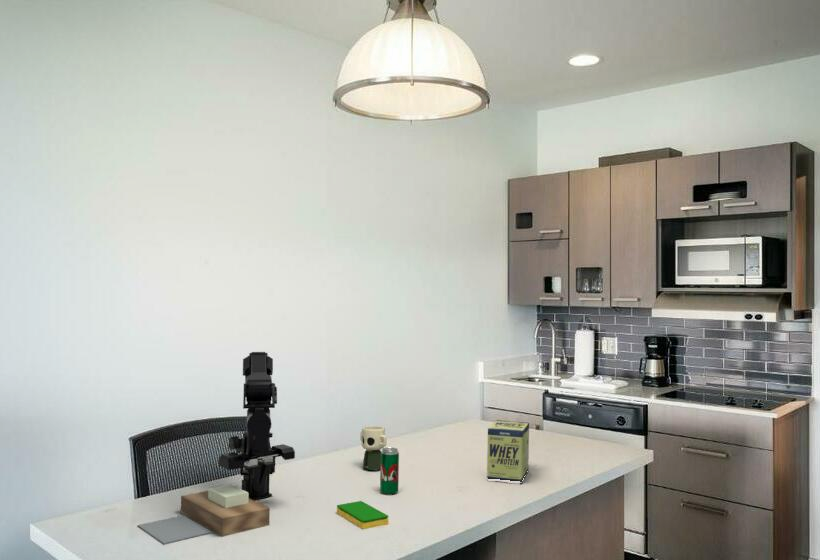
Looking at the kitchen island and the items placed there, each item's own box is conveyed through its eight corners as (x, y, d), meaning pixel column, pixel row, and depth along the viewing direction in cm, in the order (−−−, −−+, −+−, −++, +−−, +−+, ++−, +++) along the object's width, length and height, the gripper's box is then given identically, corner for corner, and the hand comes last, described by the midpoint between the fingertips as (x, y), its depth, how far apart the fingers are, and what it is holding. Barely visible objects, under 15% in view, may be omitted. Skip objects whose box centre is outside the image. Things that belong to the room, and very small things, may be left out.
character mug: (352, 468, 217) (353, 426, 217) (368, 464, 222) (368, 423, 223) (377, 474, 210) (378, 431, 210) (393, 470, 215) (394, 428, 215)
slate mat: (183, 516, 169) (183, 515, 169) (211, 533, 158) (211, 531, 158) (137, 526, 162) (137, 524, 162) (164, 544, 151) (164, 543, 151)
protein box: (486, 481, 205) (487, 428, 205) (495, 468, 220) (496, 419, 220) (521, 485, 202) (522, 431, 202) (529, 471, 216) (529, 421, 217)
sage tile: (230, 494, 174) (230, 484, 174) (248, 503, 168) (248, 492, 168) (208, 499, 170) (208, 488, 170) (225, 507, 164) (225, 497, 164)
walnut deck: (225, 502, 180) (225, 487, 181) (269, 524, 164) (269, 507, 164) (180, 512, 172) (181, 495, 172) (222, 536, 156) (222, 518, 156)
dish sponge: (361, 509, 178) (361, 500, 178) (388, 525, 166) (389, 515, 166) (336, 514, 174) (336, 504, 174) (362, 531, 162) (363, 520, 162)
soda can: (400, 490, 194) (401, 447, 194) (395, 496, 189) (396, 451, 189) (383, 489, 195) (384, 446, 195) (377, 494, 190) (378, 450, 190)
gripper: (273, 419, 187) (272, 477, 187) (209, 428, 174) (207, 490, 174) (296, 426, 179) (295, 486, 178) (230, 435, 166) (228, 500, 166)
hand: (257, 490), depth 174 cm, fingers closed
